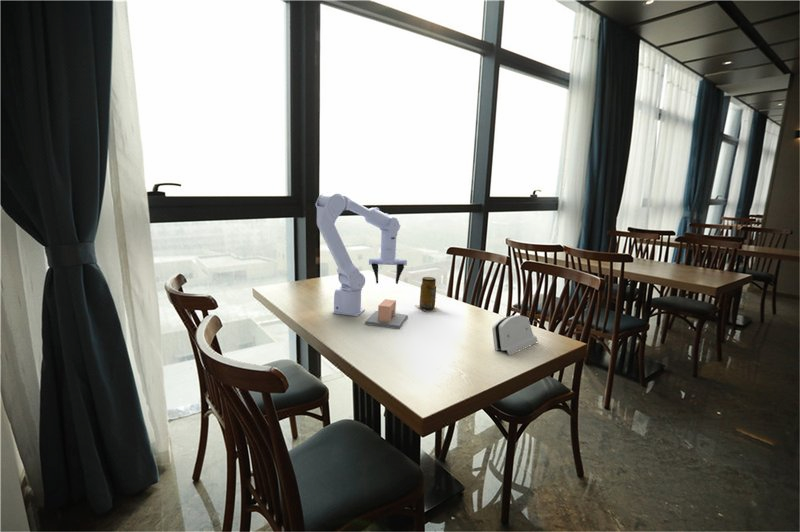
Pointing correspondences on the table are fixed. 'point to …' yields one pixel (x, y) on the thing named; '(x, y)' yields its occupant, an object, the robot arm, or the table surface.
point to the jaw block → (386, 310)
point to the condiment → (428, 295)
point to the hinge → (513, 334)
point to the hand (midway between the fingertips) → (386, 283)
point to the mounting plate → (394, 323)
